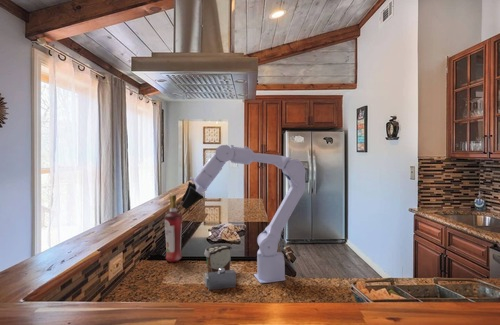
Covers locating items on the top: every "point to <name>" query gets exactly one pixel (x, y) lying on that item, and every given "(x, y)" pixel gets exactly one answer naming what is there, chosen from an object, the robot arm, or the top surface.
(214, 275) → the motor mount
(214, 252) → the food container
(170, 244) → the liquor
